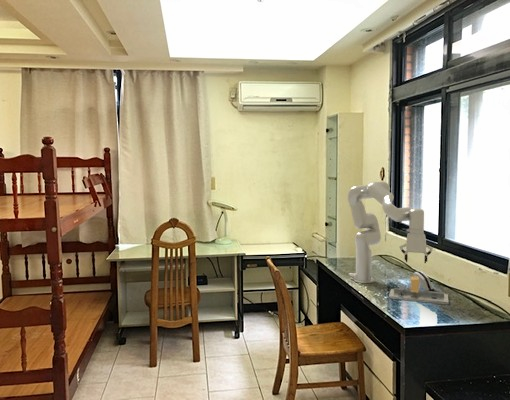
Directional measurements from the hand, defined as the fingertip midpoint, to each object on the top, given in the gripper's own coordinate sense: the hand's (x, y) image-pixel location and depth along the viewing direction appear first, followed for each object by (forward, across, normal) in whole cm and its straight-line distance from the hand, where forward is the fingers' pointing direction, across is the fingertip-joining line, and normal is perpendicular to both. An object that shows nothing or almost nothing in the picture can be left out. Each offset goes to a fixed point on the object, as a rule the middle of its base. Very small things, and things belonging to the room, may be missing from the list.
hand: (415, 262), depth 240 cm
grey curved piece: (+20, +4, +22) cm, 30 cm away
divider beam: (+18, +2, 0) cm, 18 cm away
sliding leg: (+18, 0, 0) cm, 18 cm away
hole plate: (+20, +2, -1) cm, 20 cm away
